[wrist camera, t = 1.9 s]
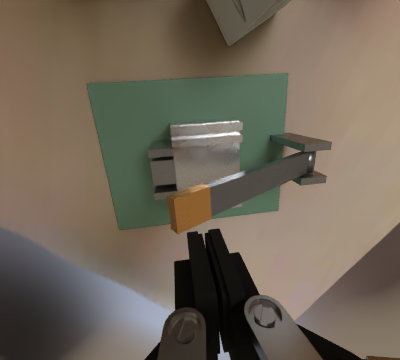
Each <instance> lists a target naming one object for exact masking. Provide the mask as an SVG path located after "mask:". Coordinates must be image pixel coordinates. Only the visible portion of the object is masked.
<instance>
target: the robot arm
mask: <svg viewBox="0 0 400 360" xmlns="http://www.w3.org/2000/svg"><path fill="white" fill-rule="evenodd" d="M187 239H188V249H189V259H188V260H181V261H174V273H175V311H174V312H173V313H171V314H170V315H169V317H168V318H167V320H166V321H165V324H164V327H163V332H162V337H161V341H160V342H159V343H158V345H157V346H156V347H155V348H154V349H153V351H152V352H151V353H150V354H149V355H148V356H147V357H146V359H145V360H218V354H220V340H219V339H220V338H219V332H220V337H221V341H222V346H223V350H224V352H229V355H230V359H231V360H400V358H388V357H375V356H367V357H366V359H361V358H359V357H358V356H356V355H355V354H353V353H351V352H350V351H347V350H345V349H344V348H342V347H340V346H338V345H336V344H334V343H332V342H330V341H328V340H327V339H324V338H323V337H321V336H319V335H317V334H315V333H313V332H311V331H309V330H307V329H305V328H304V327H301V326H300V325H298V324H296V323H295V322H294V321H293V319H292V318H291V317H290V315H289V314H288V313H287V311H286V310H285V309H284V307H283V306H282V305H281V304H280V303H279V302H278V301H277V300H275V299H273V298H272V297H269V296H266V295H260V294H259V292H258V290H257V288H256V286H255V284H254V282H253V280H252V278H251V276H250V274H249V272H248V270H247V267H246V265H245V263H244V261H243V259H242V257H241V255H240V253H239V252H236V253H230V254H229V251H228V249H227V246H226V244H225V241H224V239H223V237H222V234H221V232H220V229H211V230H208V233H205V244H204V240H203V236H202V234H198V232H197V231H196V232H188V233H187ZM205 245H206V248H205Z"/></svg>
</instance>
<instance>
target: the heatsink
mask: <svg viewBox="0 0 400 360" xmlns="http://www.w3.org/2000/svg"><path fill="white" fill-rule="evenodd" d="M170 130H171V138H172V139H169V140H156V141H153V142H152V143H151V145H150V147H149V149H148V157H149V158H152V159H151V161H150V164H151V171H152V177H153V184H154V186H155V191H154V197H155V200H161V199H167V195H170V194H173V193H176V192H179V191H182V190H185V189H188V188H191V187H194V186H197V185H200V184H207V183H210V182H213V181H216V180H219V179H222V178H225V177H228V176H231V175H234V174H237V173H240V143H241V142H243V135H242V134H240V130H243V122H240V121H239V120H234V119H229V118H220V119H207V120H193V121H180V122H170ZM270 141H273V142H276V143H279V144H282V145H285V146H288V147H291V148H294V149H297V150H300V151H303V152H310V151H320V150H331V144H332V142H329V141H325V140H320V139H316V138H311V137H306V136H302V135H297V134H293V133H284V134H274V135H270ZM273 161H275V160H273ZM269 162H272V161H269ZM326 177H327V176H325V175H323V174H321V173H319V172H316V171H314V170H313V173H310V174H303V175H301V176H299V177H297V178H295V179H293V181H294V182H296V183H297V184H299V185H309V184H318V183H326ZM235 207H242V203H241V204H238V205H236V206H234V207H232V208H235Z"/></svg>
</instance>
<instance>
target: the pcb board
mask: <svg viewBox="0 0 400 360" xmlns="http://www.w3.org/2000/svg"><path fill="white" fill-rule="evenodd" d="M287 86H288V73H283V74H264V75H245V76H226V77H207V78H189V79H170V80H151V81H132V82H113V83H94V84H87V89H88V93H89V97H90V102H91V106H92V111H93V115H94V119H95V124H96V128H97V133H98V137H99V142H100V146H101V150H102V155H103V159H104V164H105V168H106V172H107V177H108V181H109V186H110V190H111V195H112V199H113V203H114V208H115V212H116V217H117V221H118V225H119V230H125V229H133V228H141V227H149V226H157V225H165V224H171V223H170V215H169V207H168V199H161V200H155V197H154V191H155V186H154V184H153V177H152V171H151V164H150V161H151V159H152V158H149V157H148V149H149V147H150V145H151V143H152V142H153V141H156V140H169V139H172V138H171V130H170V122H180V121H193V120H207V119H220V118H229V119H234V120H239V121H240V122H243V130H240V134H242V135H243V142H241V143H240V172H243V171H246V170H249V169H251V168H254V167H257V166H260V165H263V164H266V163H269V161H273V160H278V159H281V158H282V153H283V145H282V144H279V143H276V142H273V141H270V135H274V134H284V126H285V113H286V99H287ZM279 194H280V186H277V187H275V188H273V189H271V190H269V191H267V192H264V193H262V194H260V195H258V196H256V197H254V198H251V199H249V200H247V201H245V202H243V203H242V207H235V208H230V209H228V210H225V211H223V212H221V213H219V214H217V215H215V216H212V219H214V218H222V217H231V216H239V215H247V214H255V213H263V212H271V211H278V207H279Z"/></svg>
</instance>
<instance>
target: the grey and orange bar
mask: <svg viewBox="0 0 400 360" xmlns="http://www.w3.org/2000/svg"><path fill="white" fill-rule="evenodd" d="M315 157H316V151H310V152H303V151H302V152H299V153H296V154H293V155H290V156H287V157H284V158H281V159H278V160H275V161H272V162H269V163H266V164H263V165H260V166H257V167H254V168H251V169H249V170H246V171H243V172H240V173H237V174H234V175H231V176H228V177H225V178H222V179H219V180H216V181H213V182H210V183H207V184H200V185H197V186H194V187H191V188H188V189H185V190H182V191H179V192H176V193H173V194H170V195H167V199H168V207H169V215H170V223H171V229H172V230H173V231H175V232H176V233H177V234H179V233H182V232H184V231H186V230H188V229H190V228H192V227H194V226H197V225H199V224H201V223H203V222H205V221H207V220H209V219H212V216H215V215H217V214H219V213H221V212H223V211H225V210H228V209H230V208H232V207H234V206H236V205H238V204H241V203H243V202H245V201H247V200H249V199H251V198H254V197H256V196H258V195H260V194H262V193H264V192H267V191H269V190H271V189H273V188H275V187H277V186H280V185H282V184H284V183H286V182H288V181H290V180H293V179H295V178H297V177H299V176H301V175H303V174H310V173H313V170H314V165H315Z"/></svg>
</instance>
